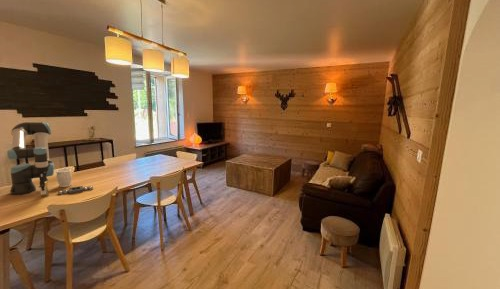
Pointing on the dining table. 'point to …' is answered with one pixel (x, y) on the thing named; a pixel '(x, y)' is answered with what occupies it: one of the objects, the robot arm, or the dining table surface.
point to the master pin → (46, 190)
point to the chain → (75, 190)
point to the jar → (64, 177)
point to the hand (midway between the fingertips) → (44, 191)
